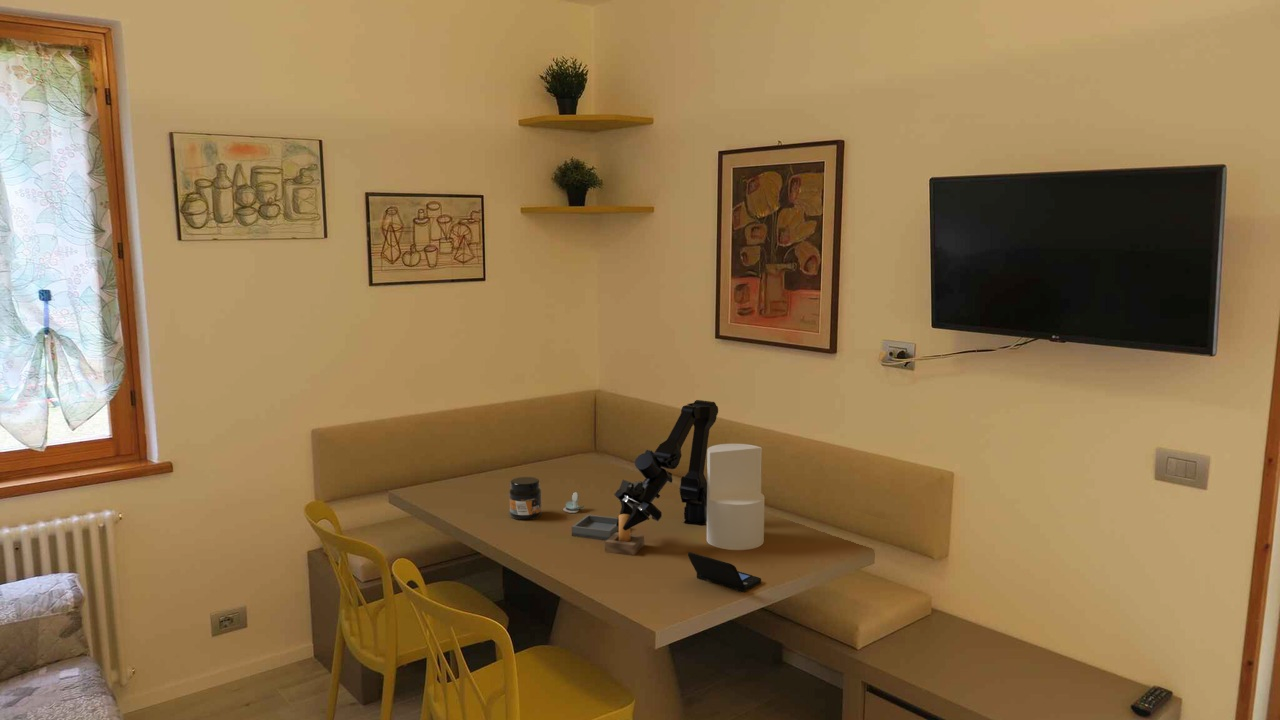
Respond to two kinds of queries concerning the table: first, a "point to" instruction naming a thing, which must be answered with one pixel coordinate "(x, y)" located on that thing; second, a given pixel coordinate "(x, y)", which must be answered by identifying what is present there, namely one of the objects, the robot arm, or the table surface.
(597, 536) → the tray
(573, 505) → the pacifier
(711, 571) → the game console
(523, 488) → the supplement container
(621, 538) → the pin
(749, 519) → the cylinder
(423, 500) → the table surface
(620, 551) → the socket block
